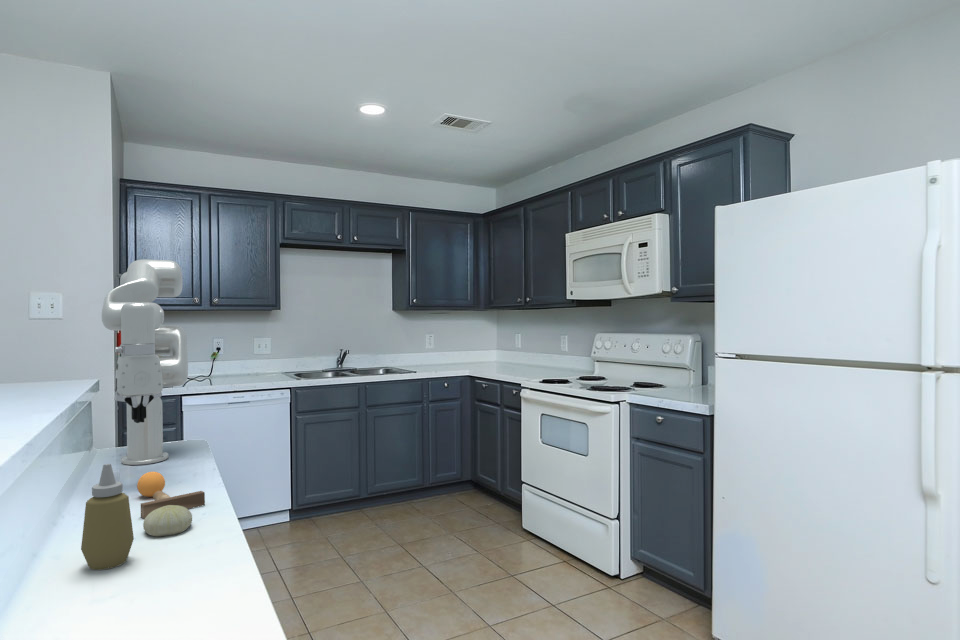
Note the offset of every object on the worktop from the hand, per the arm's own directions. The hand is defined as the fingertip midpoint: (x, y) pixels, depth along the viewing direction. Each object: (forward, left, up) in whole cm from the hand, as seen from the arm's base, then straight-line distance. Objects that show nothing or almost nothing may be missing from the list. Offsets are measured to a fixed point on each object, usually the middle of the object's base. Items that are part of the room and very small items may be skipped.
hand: (139, 421), depth 152 cm
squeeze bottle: (+50, -1, -17) cm, 53 cm away
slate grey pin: (+15, -4, -17) cm, 23 cm away
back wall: (+24, +9, -17) cm, 30 cm away
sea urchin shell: (+36, +8, -18) cm, 41 cm away
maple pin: (+13, +5, -16) cm, 21 cm away
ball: (+9, +3, -14) cm, 17 cm away
